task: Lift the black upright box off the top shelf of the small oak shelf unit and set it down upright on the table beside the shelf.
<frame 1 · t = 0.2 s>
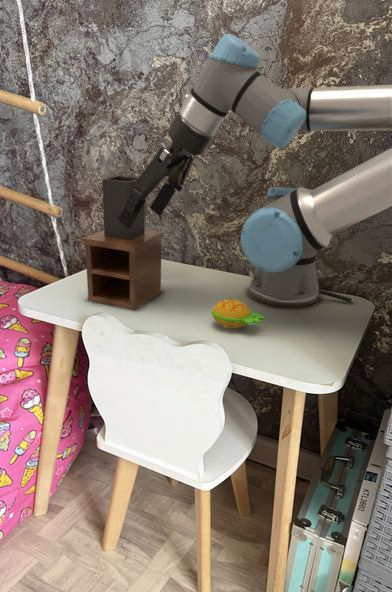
hand: (140, 217, 107), 16 cm above the table, tool tilted 30°, fingers open, 13 cm apart
trinket box: (128, 272, 127), on the table
black upright box: (124, 234, 106), point 13 cm above the table, touching shelf
orange toy pineapple: (235, 328, 99), on the table
shelf: (125, 296, 112), on the table
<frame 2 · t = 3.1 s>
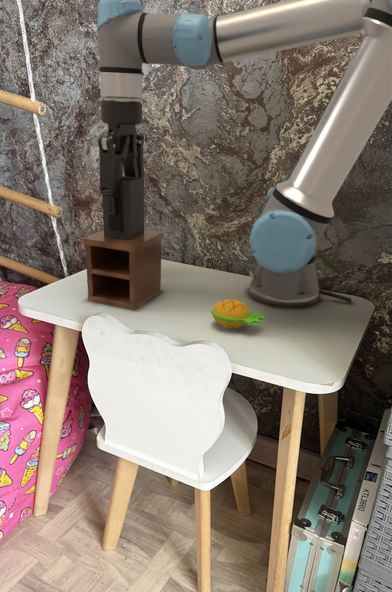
hand: (124, 226, 105), 15 cm above the table, tool pointing down, fingers closed on black upright box, 6 cm apart
black upright box: (124, 235, 106), point 13 cm above the table, touching gripper, shelf
everything else where it was.
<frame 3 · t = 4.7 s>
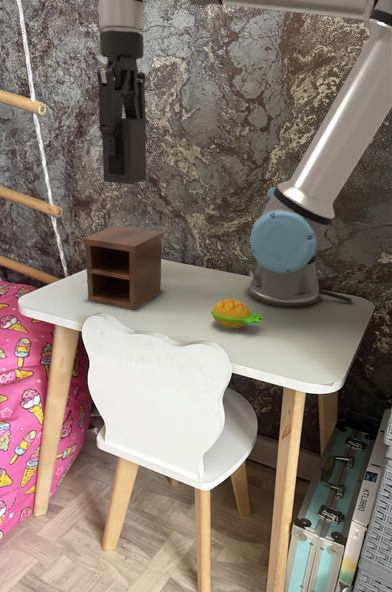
hand: (125, 171, 100), 26 cm above the table, tool pointing down, fingers closed on black upright box, 6 cm apart
black upright box: (125, 180, 101), point 24 cm above the table, touching gripper
everything else where it was.
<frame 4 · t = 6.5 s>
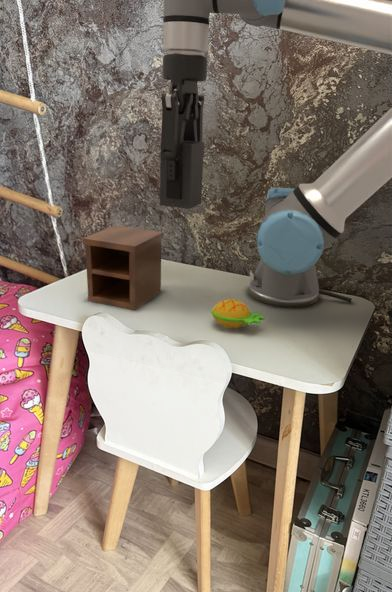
hand: (181, 195, 98), 22 cm above the table, tool pointing down, fingers closed on black upright box, 6 cm apart
black upright box: (180, 204, 99), point 21 cm above the table, touching gripper
everything else where it was.
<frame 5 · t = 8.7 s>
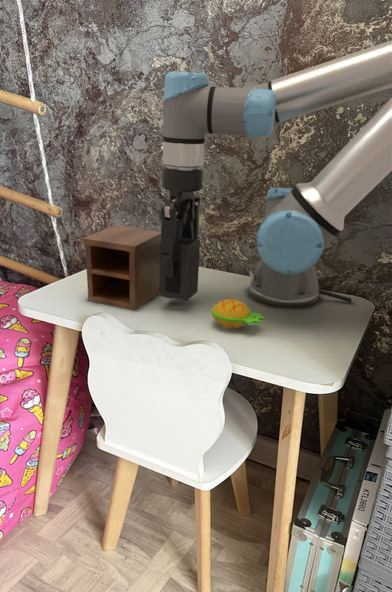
hand: (179, 286, 106), 4 cm above the table, tool pointing down, fingers closed on black upright box, 6 cm apart
black upright box: (178, 294, 107), point 3 cm above the table, touching gripper
everything else where it was.
when the fingers open (2 cm above the table, at t = 9.9 s): black upright box stays where it is, on the table.
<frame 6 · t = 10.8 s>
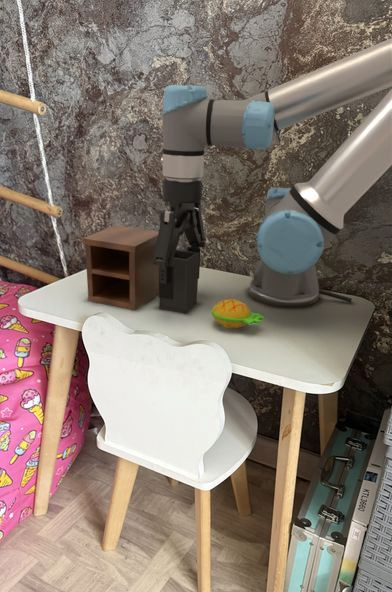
hand: (180, 287, 106), 4 cm above the table, tool pointing down, fingers open, 13 cm apart
black upright box: (178, 306, 108), on the table
everything else where it was.
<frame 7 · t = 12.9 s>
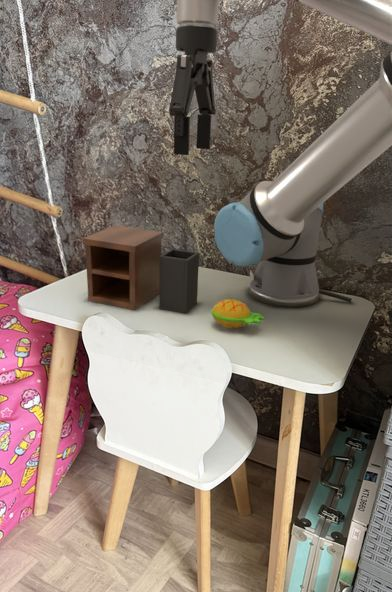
hand: (192, 151, 104), 29 cm above the table, tool pointing down, fingers open, 13 cm apart
nothing on the table moved.
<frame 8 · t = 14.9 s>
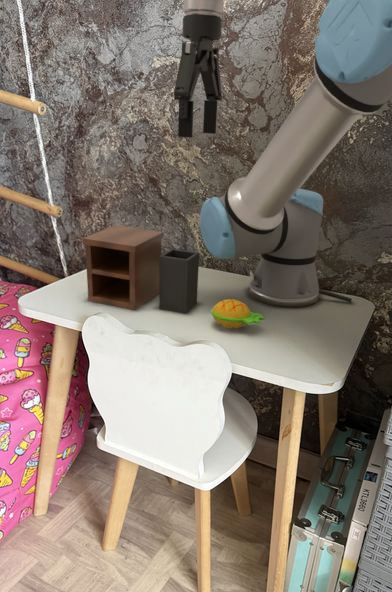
hand: (197, 135, 109), 32 cm above the table, tool pointing down, fingers open, 13 cm apart
nothing on the table moved.
at the end: black upright box inside the target area (0.2 cm from its centre), on the table; black upright box tilted 0°; the gripper is holding nothing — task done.
